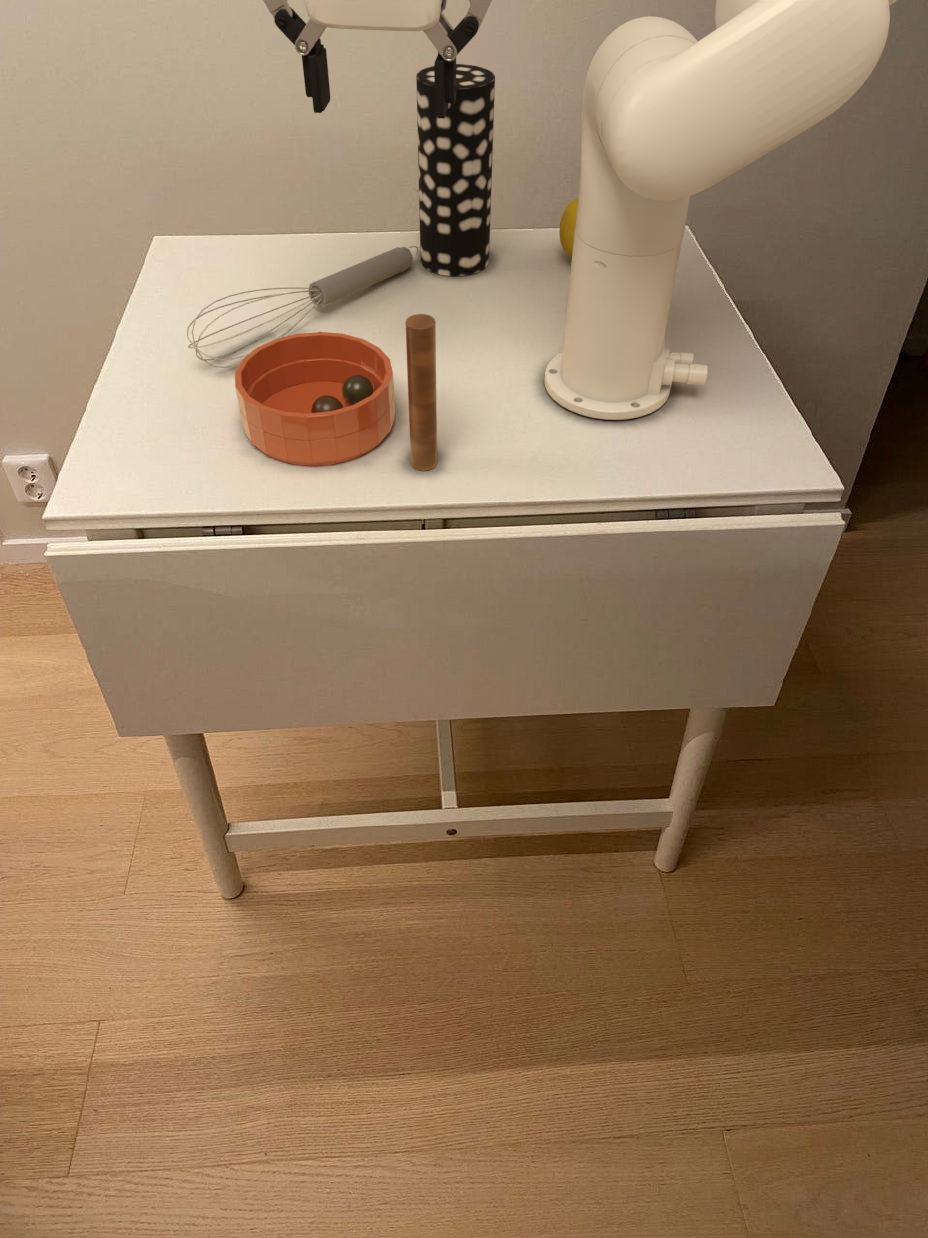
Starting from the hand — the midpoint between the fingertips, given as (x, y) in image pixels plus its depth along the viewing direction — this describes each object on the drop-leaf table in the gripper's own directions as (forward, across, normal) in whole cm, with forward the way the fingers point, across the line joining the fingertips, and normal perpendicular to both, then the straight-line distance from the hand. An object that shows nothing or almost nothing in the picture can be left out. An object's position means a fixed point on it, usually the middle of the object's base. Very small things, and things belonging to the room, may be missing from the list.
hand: (382, 109), depth 73 cm
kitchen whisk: (+26, +12, -14) cm, 32 cm away
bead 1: (+24, +5, +8) cm, 25 cm away
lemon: (+26, -18, -31) cm, 44 cm away
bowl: (+26, +6, +6) cm, 27 cm away
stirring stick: (+26, -4, +11) cm, 28 cm away
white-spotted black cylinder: (+26, -2, -29) cm, 39 cm away
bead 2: (+24, +3, +4) cm, 24 cm away
